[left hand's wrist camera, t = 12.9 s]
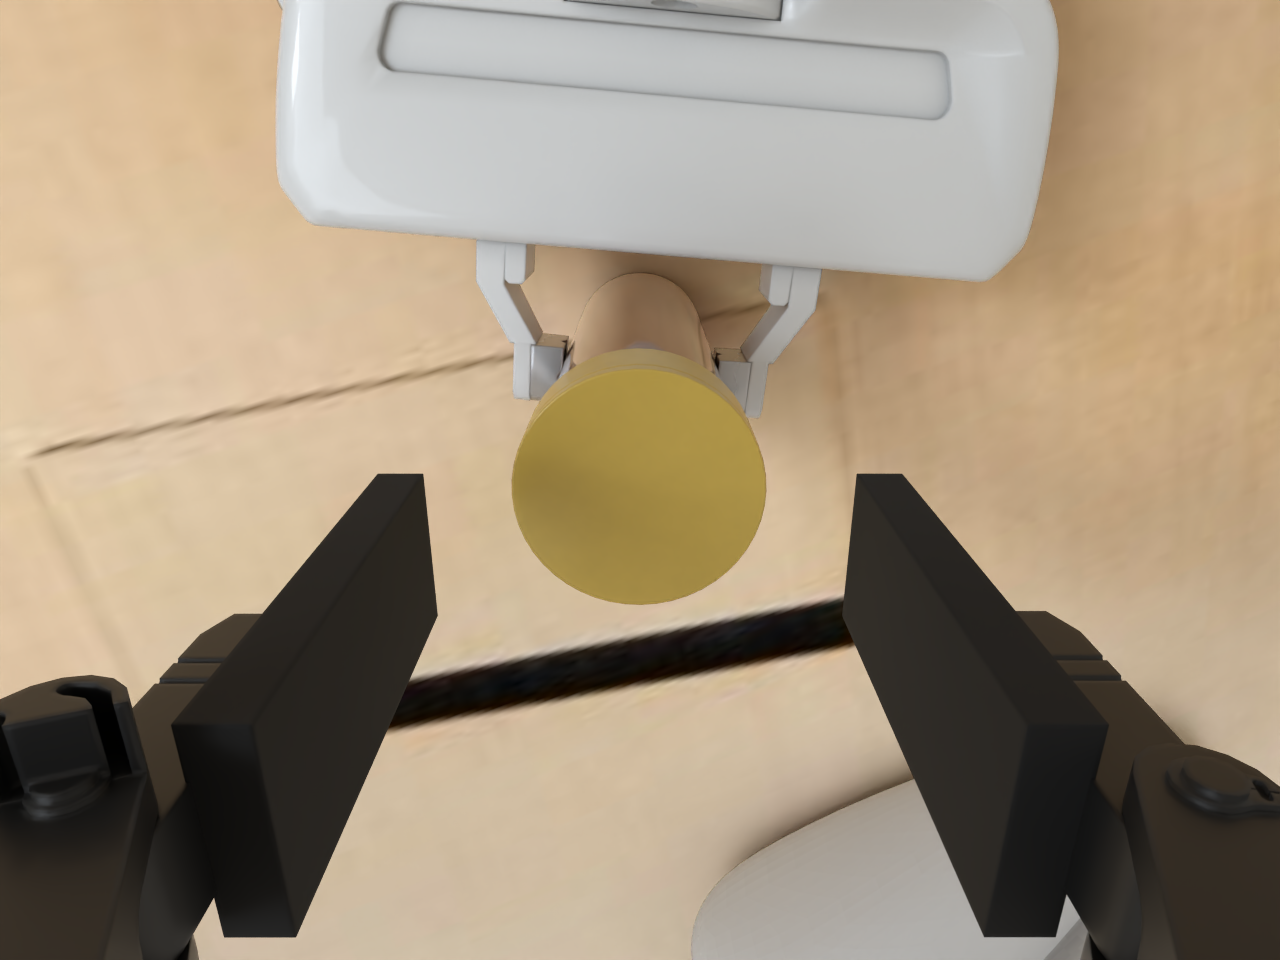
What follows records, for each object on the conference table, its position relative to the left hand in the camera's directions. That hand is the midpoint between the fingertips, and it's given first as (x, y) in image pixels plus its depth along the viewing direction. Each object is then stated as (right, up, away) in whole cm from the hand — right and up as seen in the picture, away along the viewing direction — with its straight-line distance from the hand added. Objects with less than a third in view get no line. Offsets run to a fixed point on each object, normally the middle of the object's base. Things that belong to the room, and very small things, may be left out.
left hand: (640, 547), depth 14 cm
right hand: (0, +4, +11) cm, 12 cm away
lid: (0, +1, +3) cm, 3 cm away
